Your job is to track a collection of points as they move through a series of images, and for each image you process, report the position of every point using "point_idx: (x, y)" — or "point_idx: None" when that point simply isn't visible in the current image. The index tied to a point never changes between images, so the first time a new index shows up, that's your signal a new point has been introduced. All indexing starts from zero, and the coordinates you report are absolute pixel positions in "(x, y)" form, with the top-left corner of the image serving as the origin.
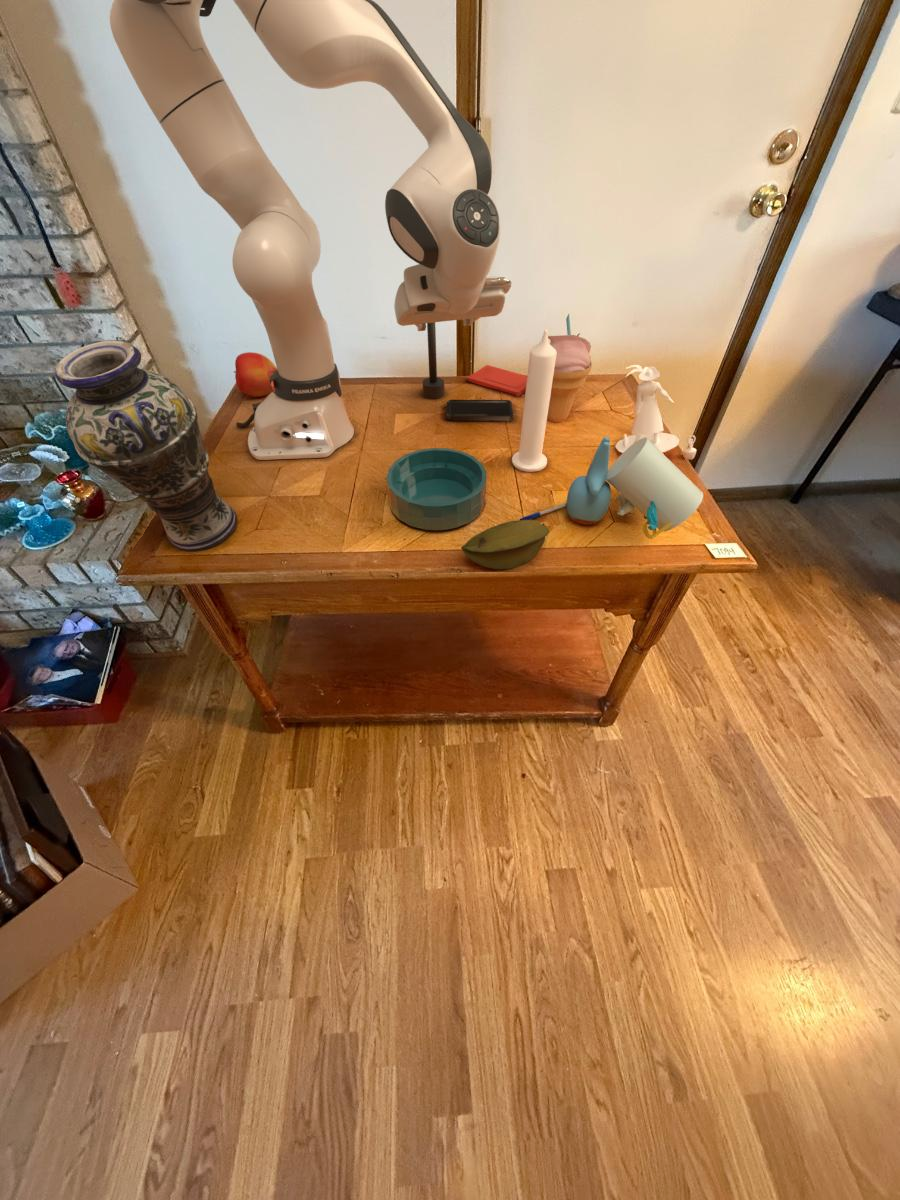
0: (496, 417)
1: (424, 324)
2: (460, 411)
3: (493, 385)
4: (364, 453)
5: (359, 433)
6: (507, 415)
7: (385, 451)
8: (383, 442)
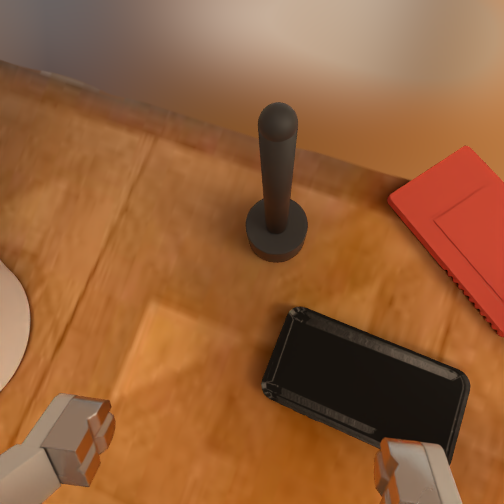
0: None
1: (76, 476)
2: (305, 380)
3: (447, 267)
4: None
5: (36, 361)
6: None
7: None
8: None
